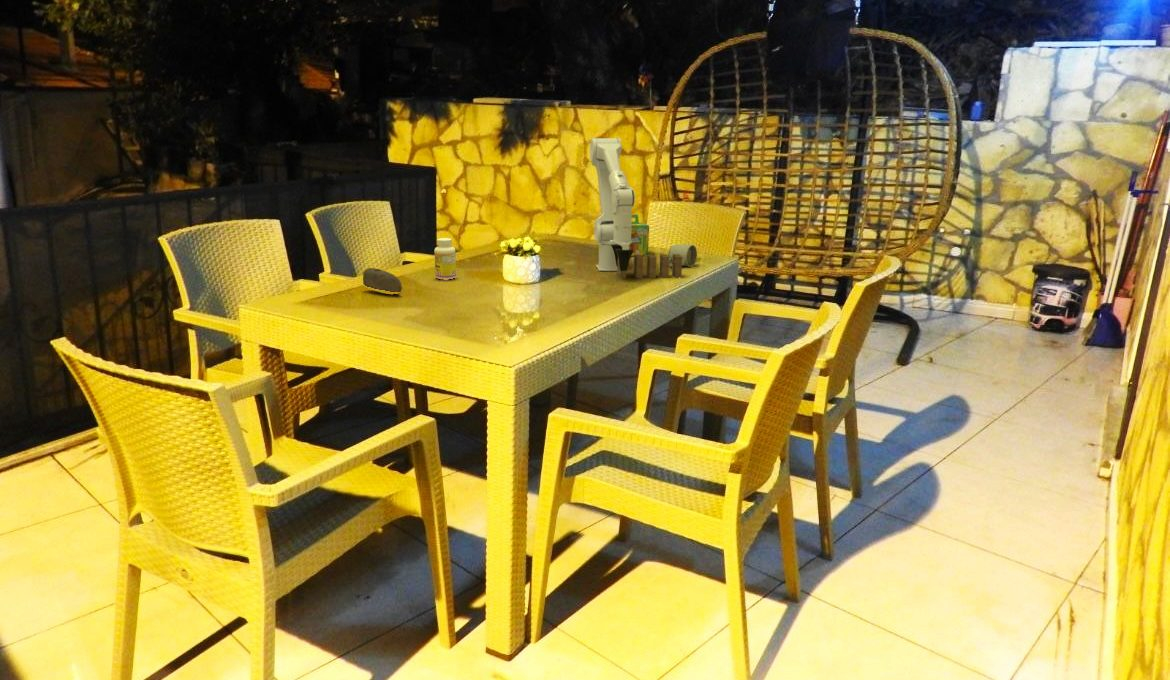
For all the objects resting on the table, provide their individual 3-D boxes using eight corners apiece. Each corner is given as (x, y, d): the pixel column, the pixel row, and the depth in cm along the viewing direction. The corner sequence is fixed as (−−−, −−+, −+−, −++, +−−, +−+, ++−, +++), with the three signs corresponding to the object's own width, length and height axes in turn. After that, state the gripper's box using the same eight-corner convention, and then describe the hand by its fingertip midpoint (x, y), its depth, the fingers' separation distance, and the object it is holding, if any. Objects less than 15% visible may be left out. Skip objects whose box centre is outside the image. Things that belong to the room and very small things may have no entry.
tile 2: (633, 275, 281) (633, 254, 279) (639, 275, 281) (640, 254, 279) (635, 278, 276) (636, 257, 274) (642, 278, 276) (643, 257, 274)
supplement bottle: (434, 277, 275) (432, 237, 272) (454, 276, 277) (453, 237, 274) (437, 281, 269) (435, 241, 266) (458, 280, 271) (456, 240, 268)
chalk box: (626, 257, 313) (627, 217, 309) (616, 253, 321) (617, 214, 317) (649, 255, 317) (650, 216, 313) (638, 251, 325) (639, 213, 321)
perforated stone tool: (408, 295, 249) (406, 272, 247) (393, 299, 245) (392, 275, 244) (376, 288, 259) (374, 266, 257) (361, 291, 255) (360, 268, 253)
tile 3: (646, 275, 281) (646, 254, 279) (652, 275, 281) (653, 254, 279) (648, 278, 276) (649, 257, 274) (655, 278, 277) (656, 257, 275)
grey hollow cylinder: (676, 262, 304) (677, 241, 302) (697, 265, 299) (698, 243, 297) (661, 267, 296) (662, 245, 293) (682, 270, 291) (683, 248, 289)
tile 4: (658, 275, 282) (659, 254, 280) (665, 275, 282) (665, 254, 280) (661, 278, 277) (662, 256, 275) (668, 278, 277) (669, 256, 275)
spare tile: (616, 275, 280) (617, 254, 278) (623, 275, 280) (623, 254, 278) (619, 278, 275) (619, 257, 273) (625, 278, 276) (626, 257, 274)
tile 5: (671, 274, 282) (672, 254, 280) (678, 274, 282) (678, 253, 280) (674, 277, 277) (675, 256, 275) (681, 277, 278) (682, 256, 276)
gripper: (607, 223, 280) (606, 264, 283) (613, 230, 266) (612, 272, 270) (628, 223, 281) (627, 264, 284) (635, 229, 267) (634, 272, 270)
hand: (621, 268), depth 277 cm, fingers open, 7 cm apart
